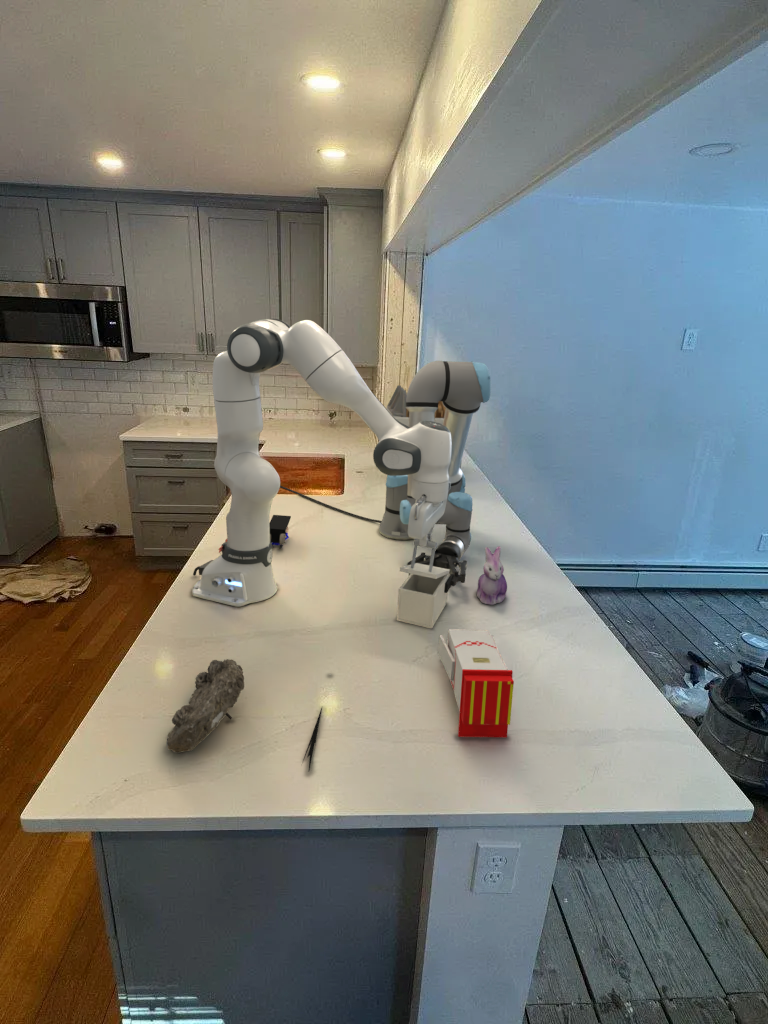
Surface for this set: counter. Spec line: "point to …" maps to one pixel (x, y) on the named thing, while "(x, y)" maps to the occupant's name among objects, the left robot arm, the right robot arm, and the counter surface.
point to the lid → (424, 569)
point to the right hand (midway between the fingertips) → (427, 584)
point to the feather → (313, 740)
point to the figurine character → (279, 530)
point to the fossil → (206, 705)
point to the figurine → (492, 579)
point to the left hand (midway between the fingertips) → (425, 543)
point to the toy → (478, 682)
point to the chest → (421, 600)
